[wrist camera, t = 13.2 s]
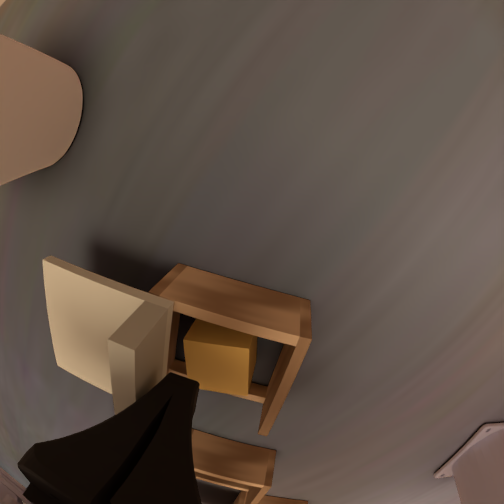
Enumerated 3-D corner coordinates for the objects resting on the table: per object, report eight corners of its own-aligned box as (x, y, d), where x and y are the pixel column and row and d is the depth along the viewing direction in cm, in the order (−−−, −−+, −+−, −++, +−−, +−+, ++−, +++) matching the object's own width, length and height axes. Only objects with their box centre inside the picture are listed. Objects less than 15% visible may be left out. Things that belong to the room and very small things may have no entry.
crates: (440, 331, 14) (463, 368, 11) (286, 519, 24) (283, 542, 20) (178, 263, 15) (148, 291, 12) (161, 489, 25) (152, 511, 21)
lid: (173, 301, 12) (134, 350, 8) (164, 407, 14) (139, 453, 11) (50, 255, 12) (1, 281, 9) (63, 359, 14) (30, 392, 11)
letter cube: (258, 314, 15) (249, 348, 12) (256, 359, 16) (247, 396, 13) (202, 308, 16) (183, 339, 13) (205, 353, 17) (188, 386, 14)
